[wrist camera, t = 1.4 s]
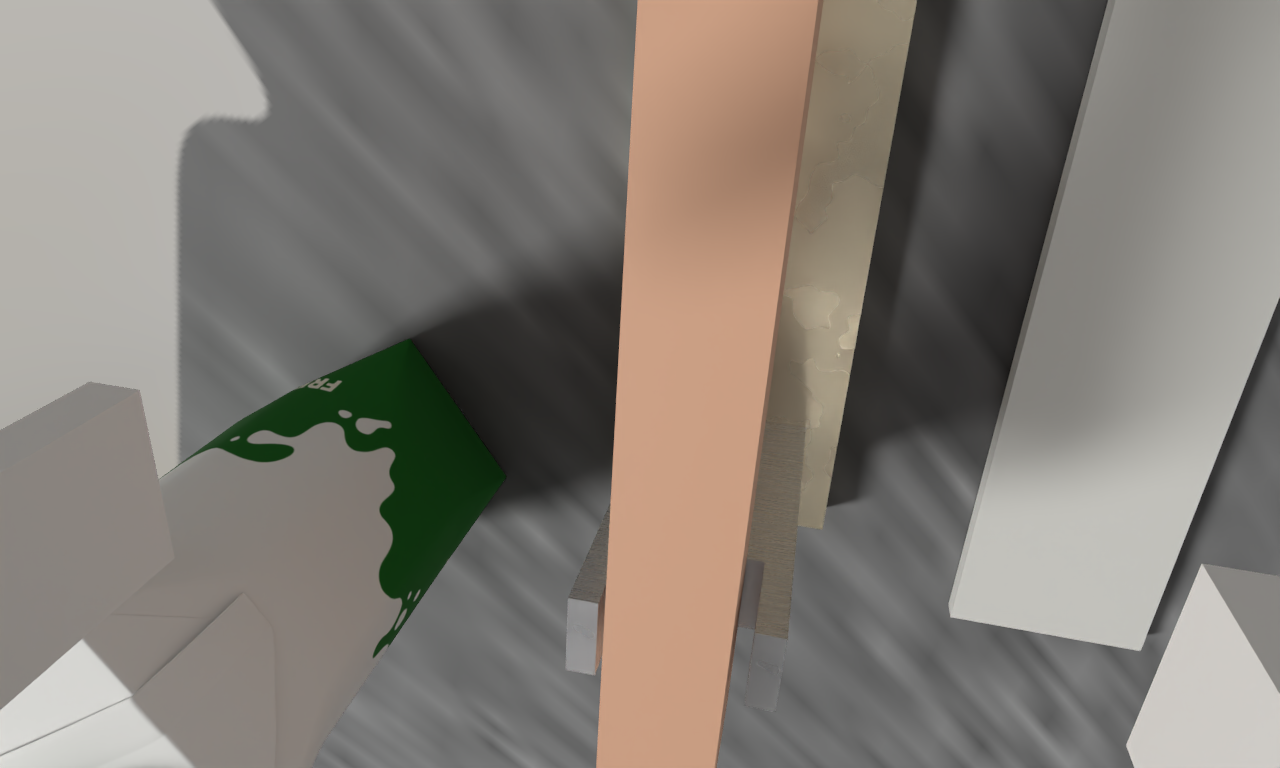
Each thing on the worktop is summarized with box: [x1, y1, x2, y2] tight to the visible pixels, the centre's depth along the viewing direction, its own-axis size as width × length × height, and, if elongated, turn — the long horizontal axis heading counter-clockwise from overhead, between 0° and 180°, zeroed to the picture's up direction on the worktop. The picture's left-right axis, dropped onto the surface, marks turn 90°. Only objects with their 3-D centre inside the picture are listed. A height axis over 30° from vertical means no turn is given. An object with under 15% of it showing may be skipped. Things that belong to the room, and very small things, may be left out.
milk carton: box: [0, 339, 506, 768], centre depth 29 cm, size 9×9×20 cm
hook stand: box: [566, 0, 917, 712], centre depth 25 cm, size 24×8×13 cm, turn 177°
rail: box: [596, 0, 823, 768], centre depth 19 cm, size 26×3×4 cm, turn 177°
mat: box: [948, 0, 1280, 651], centre depth 29 cm, size 27×7×1 cm, turn 177°
